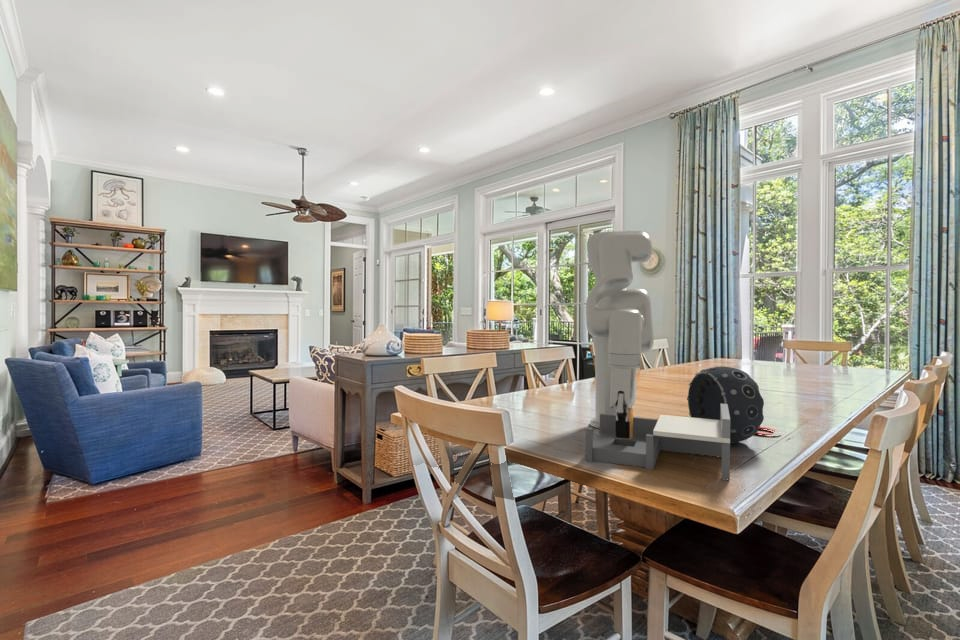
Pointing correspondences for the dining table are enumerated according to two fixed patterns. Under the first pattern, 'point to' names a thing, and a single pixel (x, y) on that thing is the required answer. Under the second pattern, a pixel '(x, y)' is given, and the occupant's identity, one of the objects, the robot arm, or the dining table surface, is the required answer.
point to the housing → (645, 445)
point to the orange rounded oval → (630, 422)
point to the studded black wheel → (727, 399)
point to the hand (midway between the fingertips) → (624, 434)
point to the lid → (695, 427)
